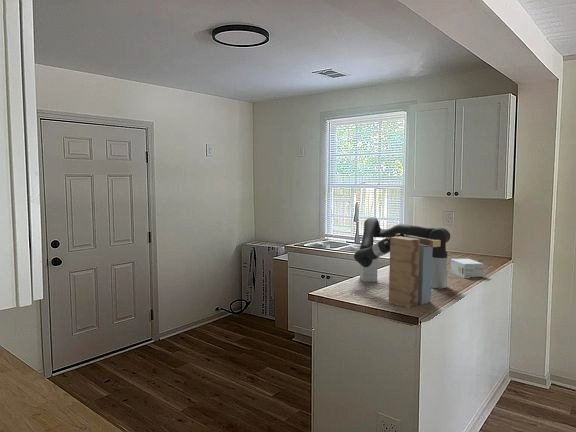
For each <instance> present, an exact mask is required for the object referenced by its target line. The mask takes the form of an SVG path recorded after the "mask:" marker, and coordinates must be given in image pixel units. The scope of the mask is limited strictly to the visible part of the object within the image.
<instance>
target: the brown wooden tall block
mask: <svg viewBox="0 0 576 432" xmlns="http://www.w3.org/2000/svg"><path fill="white" fill-rule="evenodd" d="M419 258H420V239H415V238H408V237H401V236H399V237H390V252H389V270H388V271H389V272H388V273H389V274H388V278H389V279H388V303H391V304H394V305H397V306H401V307H404V308H407V307H408V309H410V308H413V306H414V307H417V305H418V306H419V304H418V287H419ZM409 307H410V308H409Z"/></svg>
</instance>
